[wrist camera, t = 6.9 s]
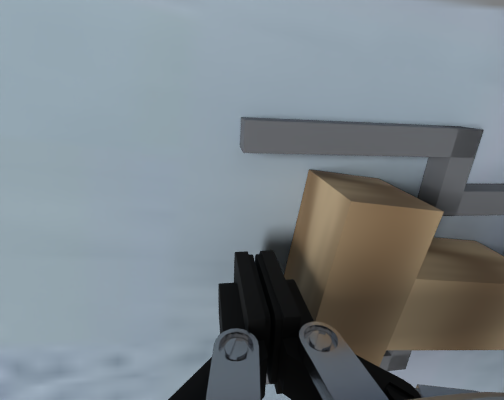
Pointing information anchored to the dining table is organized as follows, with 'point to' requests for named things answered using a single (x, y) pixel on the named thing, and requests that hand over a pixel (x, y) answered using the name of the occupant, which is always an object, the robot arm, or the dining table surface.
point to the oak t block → (392, 271)
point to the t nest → (389, 144)
